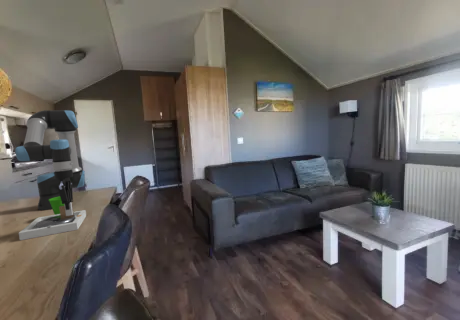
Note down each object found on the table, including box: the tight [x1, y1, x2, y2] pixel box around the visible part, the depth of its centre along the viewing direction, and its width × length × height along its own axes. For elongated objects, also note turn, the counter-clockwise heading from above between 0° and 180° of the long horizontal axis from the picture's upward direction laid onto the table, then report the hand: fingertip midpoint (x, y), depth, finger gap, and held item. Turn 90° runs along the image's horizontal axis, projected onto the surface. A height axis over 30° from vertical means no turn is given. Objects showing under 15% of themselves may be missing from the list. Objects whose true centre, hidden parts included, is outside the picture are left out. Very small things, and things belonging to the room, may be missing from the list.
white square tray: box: [18, 209, 87, 241], centre depth 114 cm, size 22×22×4 cm
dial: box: [36, 205, 75, 229], centre depth 114 cm, size 16×16×8 cm
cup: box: [49, 197, 65, 215], centre depth 130 cm, size 9×9×11 cm
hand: (69, 215), depth 115 cm, fingers closed
